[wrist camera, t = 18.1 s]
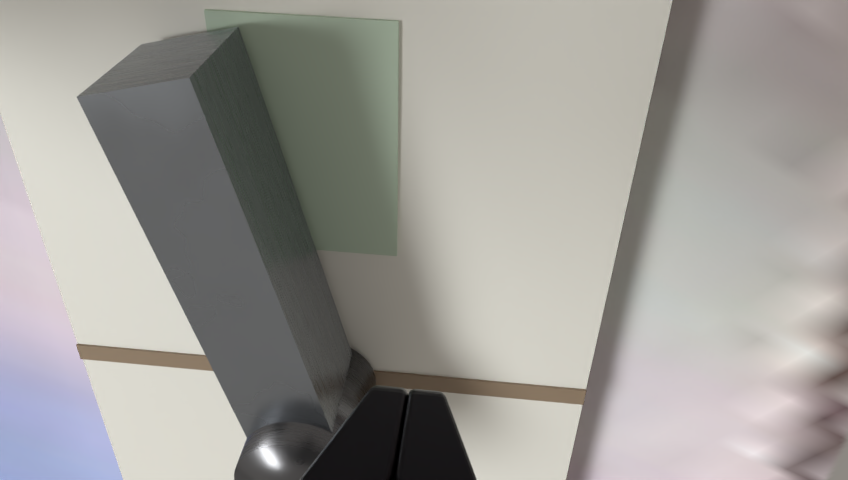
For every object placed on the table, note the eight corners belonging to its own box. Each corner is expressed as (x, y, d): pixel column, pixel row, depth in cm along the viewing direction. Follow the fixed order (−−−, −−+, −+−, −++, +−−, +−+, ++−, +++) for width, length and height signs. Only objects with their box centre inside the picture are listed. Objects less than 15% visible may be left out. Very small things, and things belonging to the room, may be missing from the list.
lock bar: (386, 409, 23) (366, 520, 20) (292, 415, 23) (257, 525, 20) (257, 20, 16) (193, 91, 13) (129, 44, 17) (36, 117, 13)
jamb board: (164, 553, 31) (154, 577, 30) (-39, -99, 16) (-71, -90, 15) (534, 593, 30) (535, 619, 29) (675, -63, 15) (685, -51, 14)
